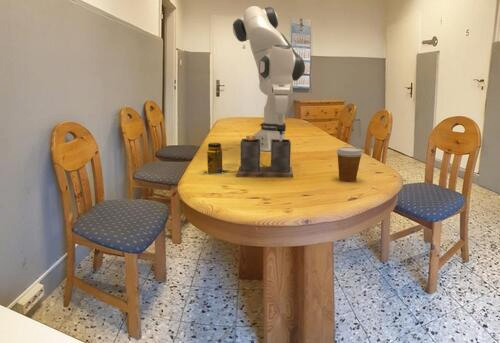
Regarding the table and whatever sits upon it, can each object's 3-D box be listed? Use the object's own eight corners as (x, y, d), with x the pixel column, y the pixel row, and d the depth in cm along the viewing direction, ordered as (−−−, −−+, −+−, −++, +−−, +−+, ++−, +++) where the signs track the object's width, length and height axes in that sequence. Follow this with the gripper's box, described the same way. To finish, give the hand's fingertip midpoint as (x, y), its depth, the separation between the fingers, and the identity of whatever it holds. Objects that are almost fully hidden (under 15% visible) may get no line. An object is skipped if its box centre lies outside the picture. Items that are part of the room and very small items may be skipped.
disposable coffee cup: (340, 175, 150) (342, 145, 147) (363, 178, 144) (366, 148, 141) (330, 180, 142) (332, 149, 139) (355, 184, 137) (357, 152, 134)
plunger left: (243, 167, 149) (243, 137, 146) (244, 164, 154) (244, 135, 151) (257, 167, 148) (257, 137, 145) (257, 164, 154) (257, 135, 151)
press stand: (237, 176, 146) (237, 143, 143) (239, 169, 158) (239, 137, 155) (293, 177, 145) (294, 143, 142) (291, 170, 157) (292, 138, 154)
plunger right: (273, 156, 147) (274, 125, 144) (273, 153, 152) (274, 123, 149) (287, 156, 147) (288, 125, 144) (286, 153, 152) (287, 123, 149)
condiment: (203, 172, 153) (202, 143, 150) (217, 168, 160) (217, 141, 157) (215, 175, 149) (215, 145, 146) (230, 171, 155) (230, 143, 152)
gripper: (272, 87, 153) (272, 121, 157) (273, 89, 133) (272, 127, 137) (288, 87, 153) (287, 121, 156) (290, 89, 133) (289, 128, 137)
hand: (280, 124), depth 146 cm, fingers closed, pressing on plunger right
